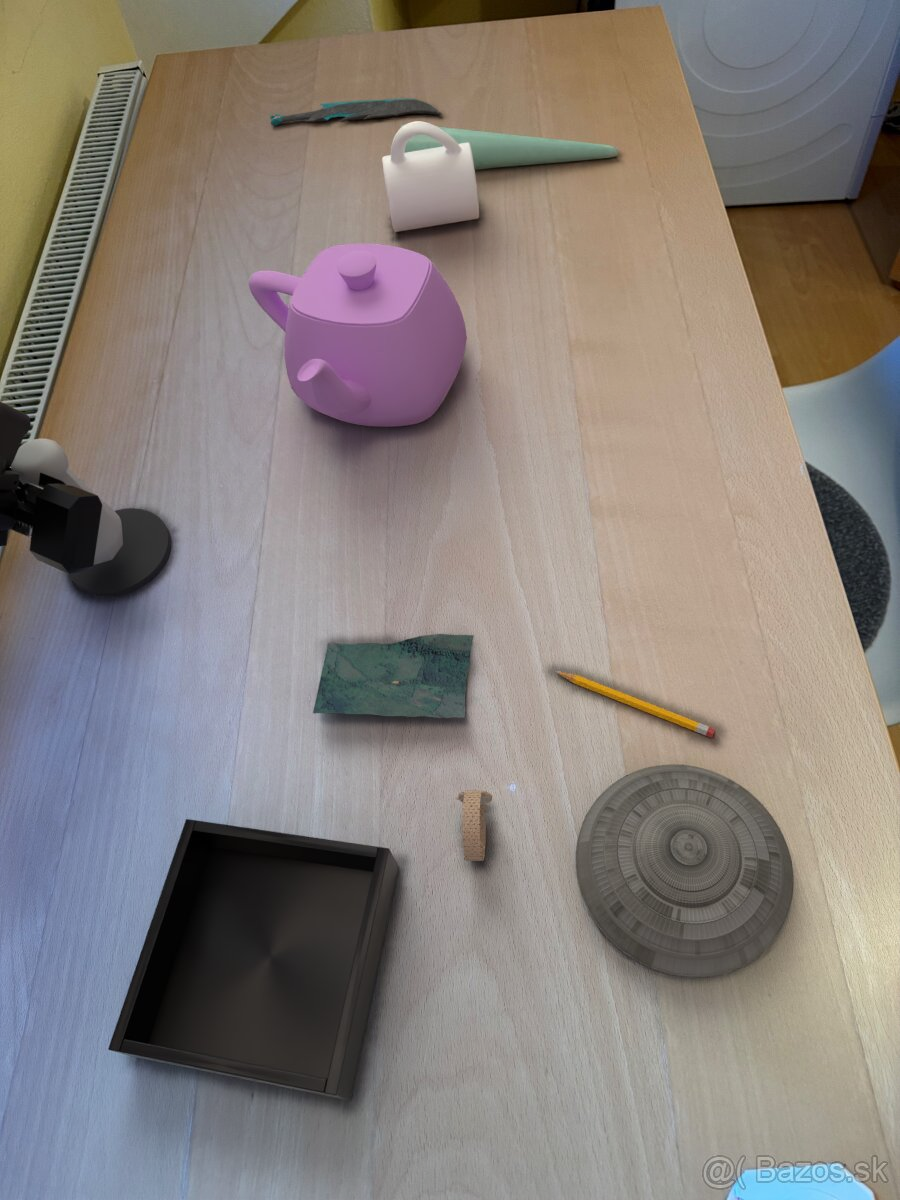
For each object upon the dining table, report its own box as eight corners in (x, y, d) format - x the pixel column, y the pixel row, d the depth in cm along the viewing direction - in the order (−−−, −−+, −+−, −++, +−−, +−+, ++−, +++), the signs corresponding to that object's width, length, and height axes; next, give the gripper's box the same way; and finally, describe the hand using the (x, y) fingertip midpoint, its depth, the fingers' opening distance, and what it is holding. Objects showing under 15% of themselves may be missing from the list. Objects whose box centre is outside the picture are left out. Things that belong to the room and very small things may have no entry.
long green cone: (620, 126, 107) (397, 140, 110) (618, 169, 111) (404, 181, 115) (619, 101, 110) (402, 115, 113) (617, 144, 114) (409, 157, 118)
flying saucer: (830, 856, 64) (850, 832, 60) (711, 1031, 59) (723, 1018, 55) (654, 735, 71) (659, 704, 66) (533, 882, 66) (530, 860, 61)
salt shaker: (60, 547, 85) (-15, 453, 74) (112, 512, 87) (46, 415, 76) (89, 583, 82) (15, 490, 71) (142, 546, 84) (78, 450, 73)
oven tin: (135, 1057, 62) (107, 1049, 59) (206, 837, 70) (185, 818, 67) (351, 1101, 59) (336, 1095, 56) (399, 866, 68) (389, 848, 64)
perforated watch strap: (494, 807, 69) (489, 783, 65) (493, 869, 67) (488, 848, 62) (459, 807, 70) (452, 783, 65) (457, 869, 67) (450, 848, 63)
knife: (274, 109, 128) (268, 129, 125) (272, 101, 127) (266, 121, 124) (445, 98, 125) (442, 118, 122) (444, 91, 124) (441, 111, 121)
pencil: (711, 739, 70) (712, 736, 70) (553, 677, 75) (553, 673, 74) (714, 731, 71) (716, 727, 70) (557, 669, 75) (557, 665, 75)
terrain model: (315, 724, 75) (310, 713, 73) (329, 644, 79) (324, 632, 77) (469, 726, 73) (467, 715, 71) (475, 644, 77) (473, 632, 76)
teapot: (308, 316, 103) (271, 195, 90) (484, 338, 98) (471, 214, 85) (223, 465, 92) (168, 351, 79) (417, 500, 87) (390, 384, 74)
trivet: (82, 614, 84) (78, 609, 83) (60, 539, 89) (56, 534, 88) (183, 569, 85) (180, 564, 84) (156, 498, 90) (153, 493, 90)
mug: (481, 232, 108) (472, 135, 98) (396, 246, 108) (378, 150, 98) (473, 192, 112) (464, 95, 102) (391, 206, 113) (374, 110, 103)
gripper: (21, 433, 60) (178, 434, 75) (-161, 365, 67) (15, 378, 81) (3, 588, 64) (157, 561, 78) (-170, 509, 70) (1, 497, 84)
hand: (81, 495), depth 80 cm, fingers closed on salt shaker, 3 cm apart
